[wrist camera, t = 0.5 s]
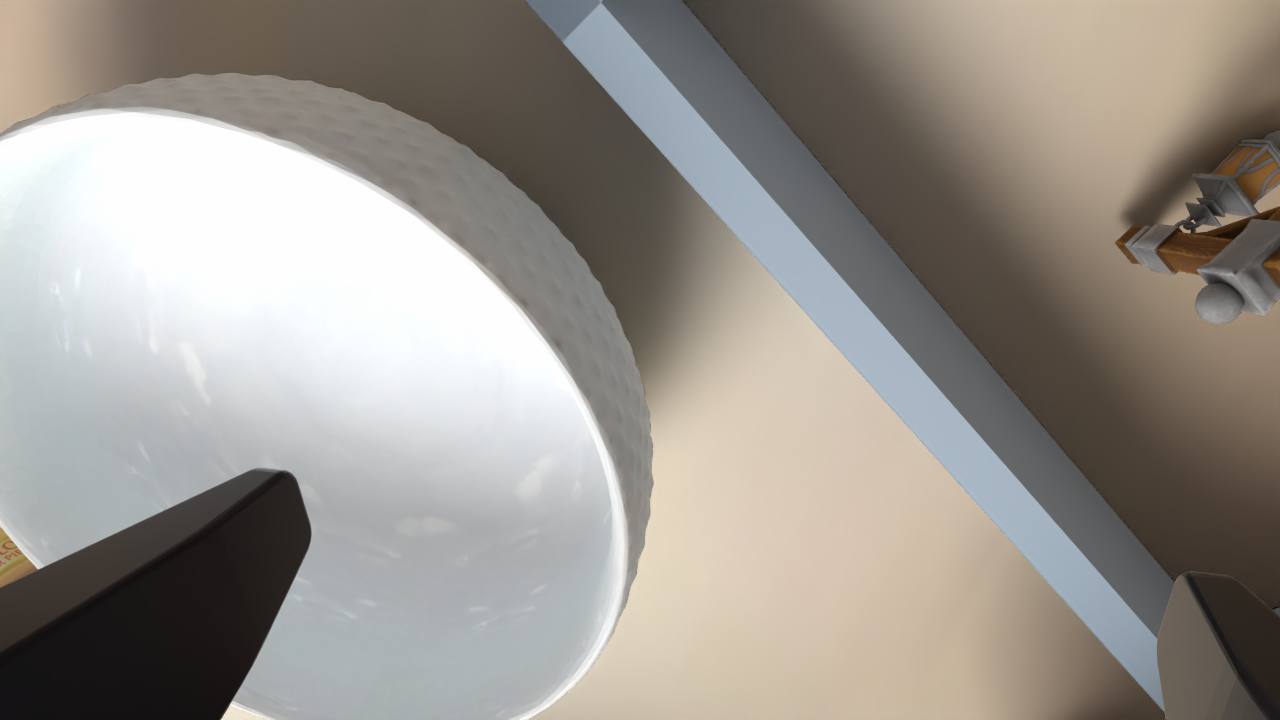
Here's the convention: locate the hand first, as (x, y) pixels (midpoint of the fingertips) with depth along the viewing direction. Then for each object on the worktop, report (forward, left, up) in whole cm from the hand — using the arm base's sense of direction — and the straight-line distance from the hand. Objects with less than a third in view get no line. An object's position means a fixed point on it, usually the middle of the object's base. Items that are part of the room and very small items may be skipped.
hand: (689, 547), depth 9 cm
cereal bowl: (+3, +12, -13) cm, 18 cm away
